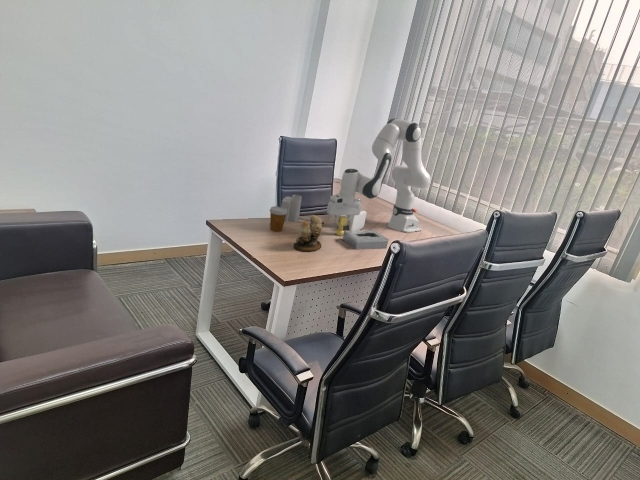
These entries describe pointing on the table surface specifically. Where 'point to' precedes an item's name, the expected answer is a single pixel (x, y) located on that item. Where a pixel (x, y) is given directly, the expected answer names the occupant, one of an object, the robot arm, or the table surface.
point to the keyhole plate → (365, 239)
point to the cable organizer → (356, 221)
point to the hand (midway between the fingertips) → (341, 222)
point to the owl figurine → (309, 235)
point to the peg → (341, 225)
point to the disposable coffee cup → (277, 218)
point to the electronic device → (293, 208)
